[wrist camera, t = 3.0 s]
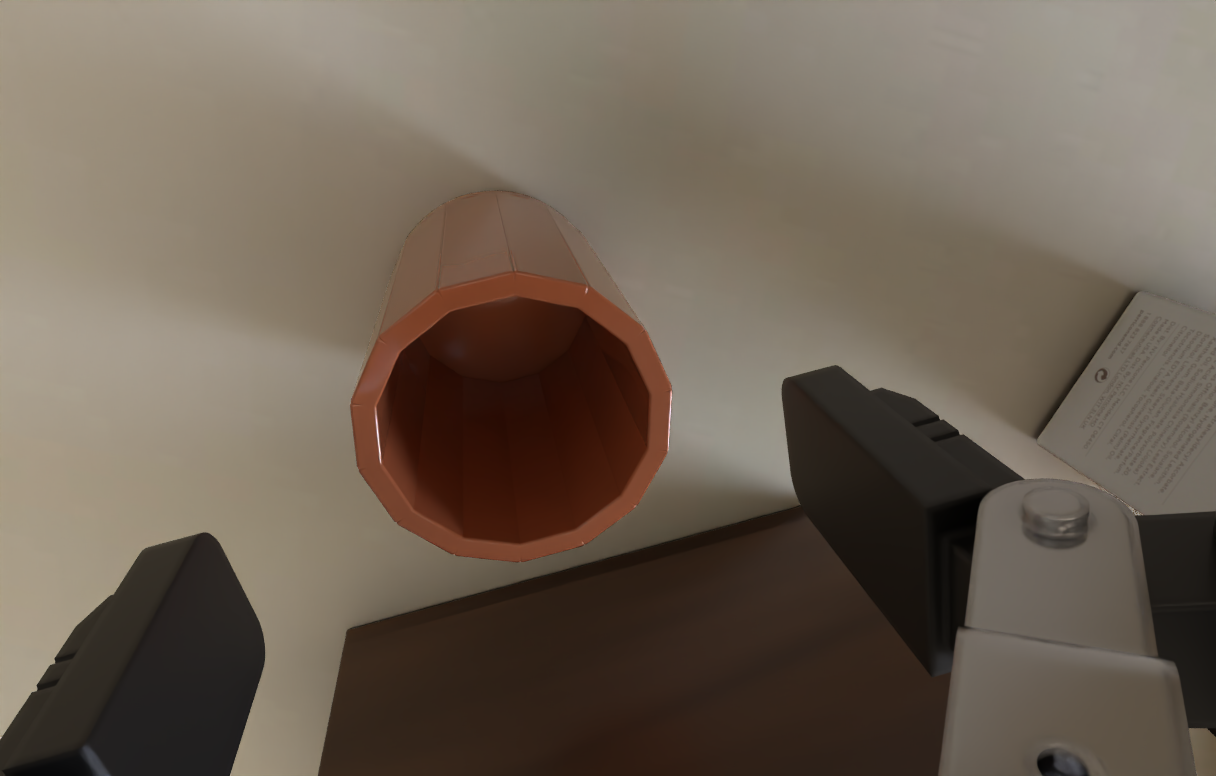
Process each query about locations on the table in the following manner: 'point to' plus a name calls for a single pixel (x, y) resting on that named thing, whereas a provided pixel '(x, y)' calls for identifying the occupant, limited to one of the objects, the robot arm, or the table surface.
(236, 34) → the table surface
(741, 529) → the box
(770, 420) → the table surface
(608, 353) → the cup
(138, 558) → the robot arm
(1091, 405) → the small box
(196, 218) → the table surface
